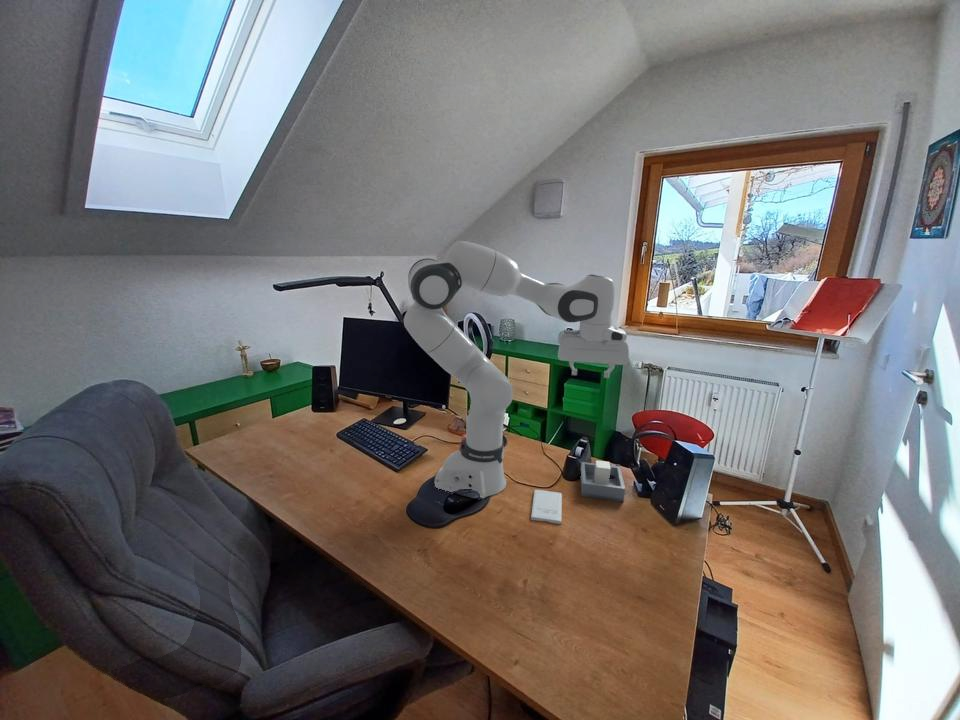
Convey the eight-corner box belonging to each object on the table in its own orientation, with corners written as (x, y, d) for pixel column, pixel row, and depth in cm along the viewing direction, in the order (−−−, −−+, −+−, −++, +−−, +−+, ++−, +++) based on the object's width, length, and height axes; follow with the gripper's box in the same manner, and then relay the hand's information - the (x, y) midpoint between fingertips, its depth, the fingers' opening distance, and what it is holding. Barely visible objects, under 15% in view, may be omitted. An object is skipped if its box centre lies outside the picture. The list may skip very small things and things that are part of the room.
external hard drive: (561, 497, 116) (561, 525, 104) (534, 493, 117) (530, 521, 106) (561, 493, 115) (561, 520, 104) (534, 489, 117) (530, 516, 105)
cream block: (594, 487, 118) (596, 467, 116) (593, 479, 122) (595, 460, 120) (608, 489, 117) (610, 468, 115) (606, 481, 121) (609, 461, 119)
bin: (581, 496, 116) (582, 483, 114) (580, 473, 127) (581, 461, 125) (623, 502, 113) (625, 488, 112) (618, 478, 124) (620, 466, 123)
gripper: (558, 331, 112) (555, 376, 116) (632, 335, 108) (626, 382, 112) (558, 327, 118) (555, 370, 122) (629, 331, 114) (623, 375, 118)
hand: (590, 376), depth 117 cm, fingers open, 8 cm apart
